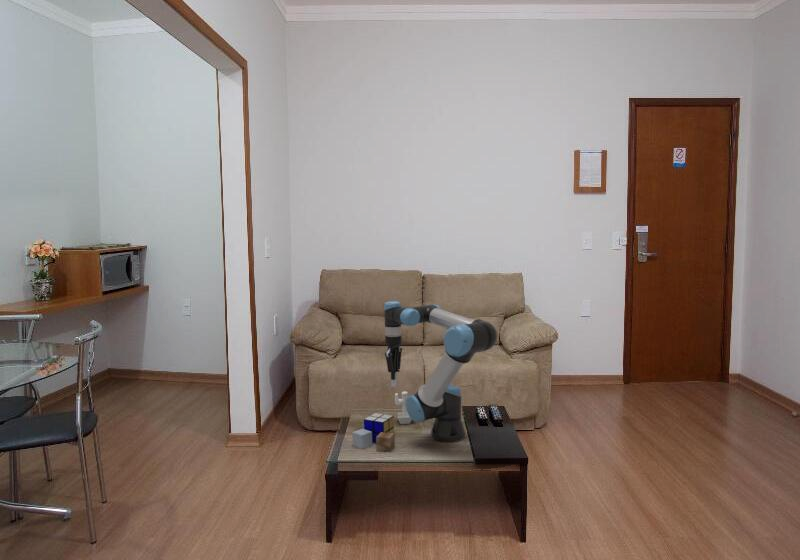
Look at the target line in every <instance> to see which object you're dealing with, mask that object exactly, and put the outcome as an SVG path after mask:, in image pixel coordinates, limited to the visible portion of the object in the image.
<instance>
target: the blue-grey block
mask: <svg viewBox="0 0 800 560" xmlns="http://www.w3.org/2000/svg"><path fill="white" fill-rule="evenodd" d="M351 436H352V437H351V440H352V441H351V442H352V446H353V447H355V448H358V449H361V450H363V449H366V448H369V447H371V446H373V443H372V432H371V431H368V430H365V429H364V428H360V429H358V430H355V431H352V435H351Z"/></svg>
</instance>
